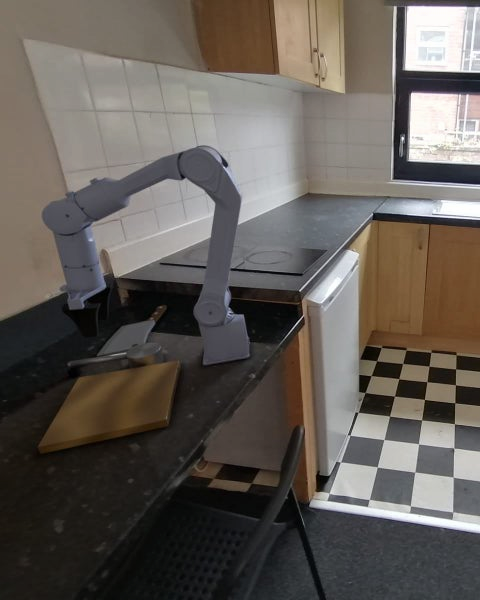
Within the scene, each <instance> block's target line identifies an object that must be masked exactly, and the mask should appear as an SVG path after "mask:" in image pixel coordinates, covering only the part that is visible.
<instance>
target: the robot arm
mask: <svg viewBox="0 0 480 600" xmlns="http://www.w3.org/2000/svg"><path fill="white" fill-rule="evenodd" d="M185 179H187V180H188V181H189V182H191V183H192V184H193V185H195V186H197V187H198V188H200V189H201V190H203V191H204V192H205V193H206V194H207V195H208V197H209V198H210V199H211V201H213V202H214V211H213V217H212V224H211V225H212V226H211V232H210V239H209V245H208V253H207V259H206V266H205V272H204V273H205V274H204V280H203V284H202V289H201V290H200V293H199V297H198V299H197V302H196V304H195V305H194V307H193V316H194V318H195V320H196V321H197V323H198V329H199V332H200V335H201V337H200V338H201V341H202V345H203V346H202V347H203V350H204V351H203V360H202V365H203V366H210V365H211V366H212V365H216V364H220V363H228V362H232V361H233V362H234V361H237V360H244V359H249V358H250V345H251V342H250V337H249V336H248V332H247V325H246V319H245V315H244V314H236V313H234V311H233V310H232V309H231V308H230V303H231V300H232V293H231V291H230V288H229V284H230V275H231V268H232V264H233V263H232V262H233V257H234V250H235V245H236V239H237V231H238V225H239V221H240V215H241V208H242V202H243V194H242V192H241V189H240V186H239V185H238V183H237V181H236V178H235V177H234V173H233V172H232V169H231V166H230V163H229V161H227V159H226V158H225V157H224V156H223V155H222V154H221V153H220V152H219V151H218V150H217V149H216V148H214V147H212V146H210V145H207V144H205V145H204V144H202V145H197V146H195V147H192V148H188V149H186V150H181V151H179V152H176V153H171V154H169V155H165V156H163V157H160V158H158V159H156V160H154V161H153V162H151V163H149V164H146V165H145V166H143V167H141V168H139V169H138V170H136V171H134V172H131V173H129V174H128V175H125V176H124V177H122V178H120V179H115V178H111V177H103V178H100V177H99V176H97V177H94V178H92V179H90V180H89V183H90V184H88V185H87V186H85V187H83V188H81V189H78V190H76V191H74V190H70V191H68V192H66V193H64V195H65V197H64V198H61V199H58V200H53V201H49V203H48V204H47V205H46V206H44V208H43V209H42V211H41V220H42V223H43V224H44V225H45V227H47V229H48V230H50V231H51V232H52V235H53V237H54V242H55V246H56V250H57V253H58V257H59V262H60V265H61V268H62V272H63V276H64V279H65V284H62V285H61V286H60V287H59V291H60V292H66V293H67V296H68V297H67V300H66V301H67V303H64V304H63V305H62V306H61V307H60V309H61V312H62V313H63V314H64V315H66V316H67V317H68V318H69V319H70V320H71V321H72V322H73V323H74V324H75V326H76V327H77V329H78V331H79V332H80V334H81V336H82V337H83V338H84V339H85V338H96V337H98V335H99V322H98V321H106V320H107V321H108V318H109V309H110V308H109V307H110V306H109V305H110V298H111V293H112V290H113V287H114V286H113V284H112V283H106V281H105V278H104V273H103V272H102V268H101V266H102V265H101V262H100V258H99V253H98V249H97V245H96V241H95V238H94V232H93V229H92V224H93V223H96V222H99V221H101V220H103V219H105V218H107V217H109V216H111V215H113V214H115V213H117V212H119V211H121V210H123V209H126V208H127V207H129V205H130V200H131V197H132V196H133V195H135V194H137V193H140V192H142V191H144V190H146V189H148V188H151V187H152V186H155V185H157V184H159V183H162V182H163V181H166V180H173V181H180V182H181V181H183V180H185Z"/></svg>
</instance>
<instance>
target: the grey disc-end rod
mask: <svg viewBox="0 0 480 600" xmlns="http://www.w3.org/2000/svg"><path fill="white" fill-rule="evenodd" d="M164 359H165V358H164V355H163V351H162V347H161V345H160V344H159V343H157V342H145V343H144V344H140V345H137V346H135V347H133V348H131V349H129V350H128V351H127V352H126V353H120V354H112V355H104V356H96V357H89V358H84V359H83V358H82V359H77V360H71V361H69V362H67V364H66V365H67V370H66V371H67V374H68V376H69V378H76V377H80V375H81V374H82V370H81V367H86V366H93V365H100V364H105V363H106V364H107V363H111V362H118V361H124V360H127V363H128V367H129V369H132V368H137V367H143V366H149V365H155V364H161V363H164Z"/></svg>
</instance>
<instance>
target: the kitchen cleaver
mask: <svg viewBox="0 0 480 600" xmlns="http://www.w3.org/2000/svg"><path fill="white" fill-rule="evenodd" d="M167 309H168V307H167V305H166V304H161V305H159V306H157V307H156V308H155V311H154V312H152V314H151V315H150V317H148V318H147V319H146V320H144V321H139V322H134V323H129V324H125V325H122V326H120V328H119V329H118V330H117V331H116V332H115V333H114V334H113V335H112V336H110V338H109V339H108V340H107V341H106V342H105V344H104V345H103V346H102V348H101V349H100V350H99V351H98V353H97V354H96V357H101V356H108V355H114V354H120V353H126V352H127V351H128V350H129V349H131V348H133V347H135V346H137V345H140V344H144V343H147V338H148V336H149V334H150V332H151V331H152V330H153V328H154V326H156V324H157V322H158V321H159V320H160V318H161V317H162V316H163V314H164V313H165V312H166V310H167Z"/></svg>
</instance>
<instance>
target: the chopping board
mask: <svg viewBox="0 0 480 600" xmlns="http://www.w3.org/2000/svg"><path fill="white" fill-rule="evenodd" d="M181 366H182V365H181V362H180V360H179V359H178V360H174V361H173V360H172V361H167V362H162V363H161V364H155V365H149V366H143V367H137V368H132V369H130V368H127V369H120V370H114V371H109V372H103V373H98V374H91V375H85V376H81V377H80V376H78V377H77V380H76V381H75V383H74V385H73V387H72V388H71V390H70V391H69V393H68V395H67V397H66V398H65V399H64V402H63V403H62V405H61V406H60V408H59V411H58V412H57V413H56V415H55V417H54V419H53V420H52V422H51V424H50V425H49V427H48V428H47V430H46V432H45V434H44V435H43V437H42V438H41V440H40V442H39V444H38V445H37V449H38V451H39V453H40V455H43V454H47V453H52V452H56V451H62V450H64V449H70V448H74V447H80V446H84V445H87V444H93V443H97V442H101V441H106V440H111V439H115V438H120V437H125V436H130V435H133V434H139V433H143V432H147V431H153V430H157V429H162V428H166V427H169V424H170V419H171V414H172V410H173V405H174V400H175V396H176V391H177V387H178V381H179V376H180V371H181Z"/></svg>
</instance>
